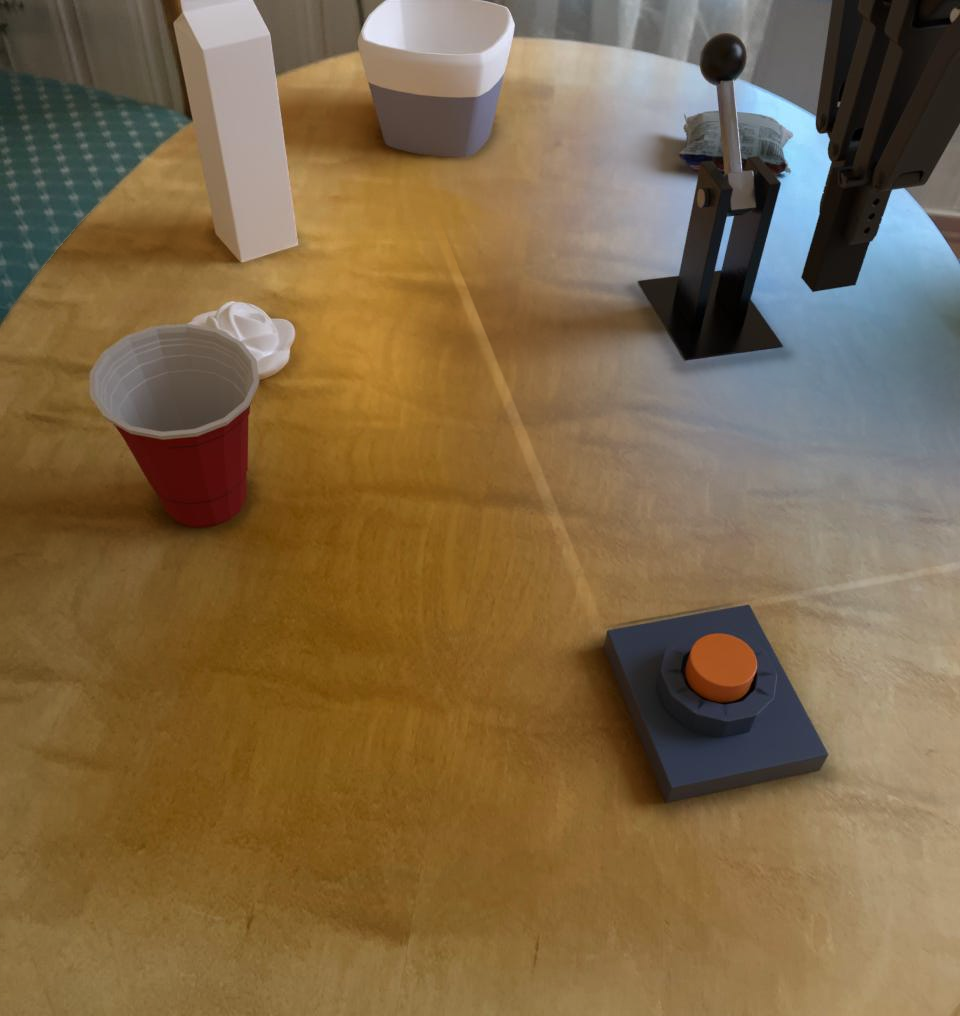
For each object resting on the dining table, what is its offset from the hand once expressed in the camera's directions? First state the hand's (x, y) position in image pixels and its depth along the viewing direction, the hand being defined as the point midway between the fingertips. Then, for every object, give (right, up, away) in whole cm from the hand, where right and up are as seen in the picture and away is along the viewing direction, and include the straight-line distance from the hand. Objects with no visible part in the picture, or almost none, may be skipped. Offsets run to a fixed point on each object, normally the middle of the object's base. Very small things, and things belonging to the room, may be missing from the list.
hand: (828, 281), depth 58 cm
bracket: (0, +8, +32) cm, 33 cm away
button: (-6, -23, +3) cm, 24 cm away
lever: (-1, +20, +23) cm, 31 cm away
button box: (-6, -25, +6) cm, 26 cm away
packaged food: (+7, +30, +50) cm, 59 cm away
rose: (-40, +4, +28) cm, 49 cm away
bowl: (-25, +35, +53) cm, 68 cm away
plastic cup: (-40, -11, +17) cm, 45 cm away
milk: (-42, +17, +39) cm, 59 cm away
